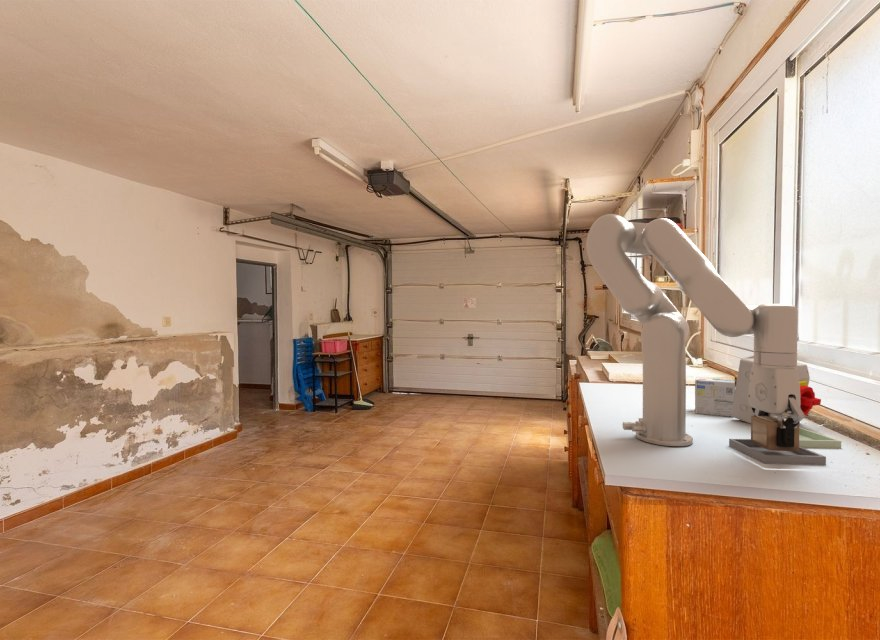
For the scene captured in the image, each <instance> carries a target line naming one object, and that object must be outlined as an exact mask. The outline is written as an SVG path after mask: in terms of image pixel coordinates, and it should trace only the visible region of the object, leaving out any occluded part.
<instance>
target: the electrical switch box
mask: <svg viewBox="0 0 880 640" xmlns="http://www.w3.org/2000/svg"><path fill="white" fill-rule="evenodd" d="M753 364H754V354H751V355H748V356H745V357H742V358H740V360H739V367H738V371H737V372H738V373H737V377H736V378H737V379H736V383H735V395H734V401H733V407H732V413H731V416H732V417H731V418H734V419H736V420H739V421H742V422H744V423H748V424H750V425H751V416H754V412H753V410H752V407H751V406H750V405H749V404H748V390H749V379H750V373H751V368H752V365H753ZM796 369H797V371H798V376H799V384H800V408H801V410H802V411H803V413H804V415H805V416H807V415H808V414H809V413H810V411H811V410H812V409H813V407H815V406H820V405H821V402H822V399H821V398H817V397H816V393H815V392H814V389H813V387H811V386H809V384H810V383H809V382H810V378H811V376H810V372H809V369H808V365H807V364H805V363H803V362H798V361H797V368H796ZM784 413H785V412H784ZM770 416H777V415H774V414H771V415H770ZM784 418H786V419H787V418H788V417H784Z"/></svg>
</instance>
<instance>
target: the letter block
mask: <svg viewBox="0 0 880 640" xmlns="http://www.w3.org/2000/svg"><path fill="white" fill-rule="evenodd" d="M785 420H786V418H784V421H785ZM799 427H800V423H799V424H798V425H797V428H796V429H794V447H779V446H777V428H780V427H779V423H778V419H777V416H751V424H750V439H751V442H752V443H754V444H756V445H758V446H761V447H763V448H765V449H767V450H771V451H799Z"/></svg>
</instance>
